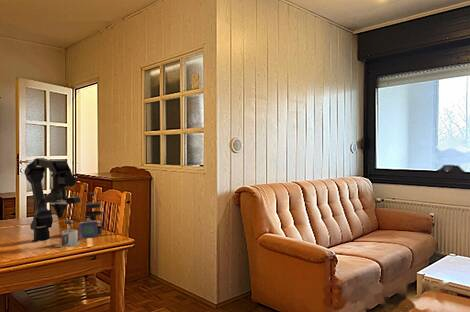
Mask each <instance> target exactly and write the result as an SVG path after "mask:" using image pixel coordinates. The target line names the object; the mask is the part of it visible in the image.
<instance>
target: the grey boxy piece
mask: <svg viewBox="0 0 470 312" xmlns="http://www.w3.org/2000/svg"><path fill="white" fill-rule="evenodd" d="M68 231H69V229H64V230H63V231H61V232H60V233H61V234H60V236H61V237H60V238H61V243H60V244H62V245H63V246H70V245H75V244H77V243H78V242H79V241H78V240H79V229H70V231H74V232H68Z"/></svg>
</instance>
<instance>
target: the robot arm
mask: <svg viewBox="0 0 470 312" xmlns="http://www.w3.org/2000/svg"><path fill="white" fill-rule="evenodd" d="M47 169H48V170H49V172H51V174H50V177H52V188H51V189H50V192H48V193H47V194H46V195H45V194H44V190H43V184H42V183H43V182H42V181H43V179H44V177H45V175H44V173H45V172H46V170H47ZM23 173H24V175H25V178H26V180H27V181H28V182H29V184H30V186H31V191H32V197H33V202H34V203H33V204H34V207H35V211H34V214H33V217H32V218H33V219H32V221H31V223H30V230H32V231H33V240H31V242H45V241H47V240H49V239H51V236H50V231H51V230H50V228H53V227H52V226H53V220H54V219H53V215H52V210H51V209H48V208H47V205H46V204H49V206H50V207H52V208H53V209H54V211H55V213H56V216H57V218H58V219H62V218H63V215H64V213H65V210H66V209H67V207H68V205H70V204H71V205H72V204H73V205H75V204H78V203H81V198H80V196H70V197H68V195H67V191H68V187H73V186H75V185H76V183H77V178H76V176H75V175H73V171H72V170H71V168H70V166H69V164H68V162H67V161H66V160H53V159H48V158H44V157H36V158H34V159H33V160H32V161H31V162H30V163H28V164H27V165H26V167H25V169H24V172H23Z"/></svg>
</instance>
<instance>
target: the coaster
mask: <svg viewBox="0 0 470 312" xmlns="http://www.w3.org/2000/svg"><path fill="white" fill-rule="evenodd" d="M83 243H84V241H78V243H77V244H75V245H70V246H63V245H62V244H61V243H59V244H57V245H54V246H53V247H55V248H56V247H58V248H60V247H61V248H65V247H66V248H73V247H76V246H78V245H80V244H83Z"/></svg>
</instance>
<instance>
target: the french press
mask: <svg viewBox="0 0 470 312" xmlns="http://www.w3.org/2000/svg"><path fill="white" fill-rule="evenodd" d="M88 194H89V195H91V196H92V197H94V196H95V195H97V192H89V193H88ZM83 205H84V206H86V207H87V209H92V211H85V212H84V217H90V220H92V221H93V220H94V221H97V222H98V234H99V235H102V234H103V229H104V228H106V227H107V226H106V223H107V222H106V221H107V220H106V211H100V210H94V209H100V208H101V207H102V202H95V201H92V202H87V203H84V204H83ZM103 214H104V218H103V217H102V215H103ZM97 216H100V220H97ZM103 219H104V226H103ZM99 224H100V226H99ZM101 233H102V234H101Z"/></svg>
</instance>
